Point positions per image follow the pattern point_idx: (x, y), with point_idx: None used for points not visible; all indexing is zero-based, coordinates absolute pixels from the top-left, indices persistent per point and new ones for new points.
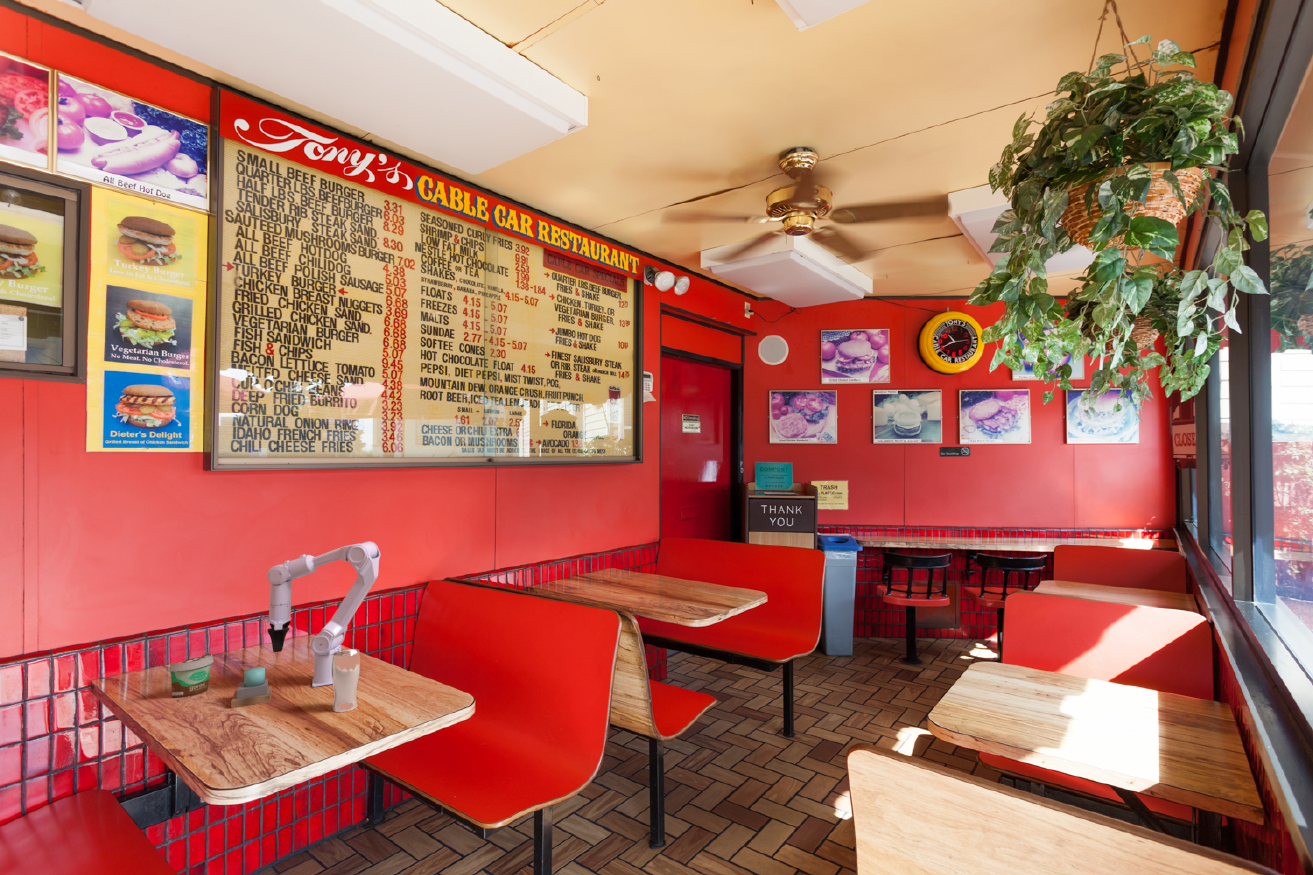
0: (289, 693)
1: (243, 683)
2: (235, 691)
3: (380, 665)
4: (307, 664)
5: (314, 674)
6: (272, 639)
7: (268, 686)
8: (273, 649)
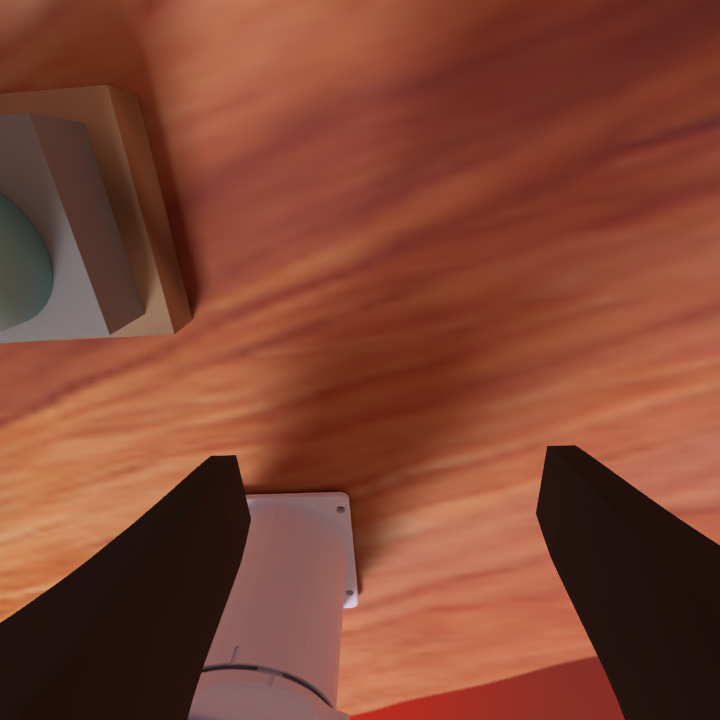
0: (146, 407)
1: (6, 157)
2: (95, 90)
3: (439, 687)
4: (700, 454)
5: (254, 538)
6: (24, 623)
7: (166, 315)
8: (186, 479)
